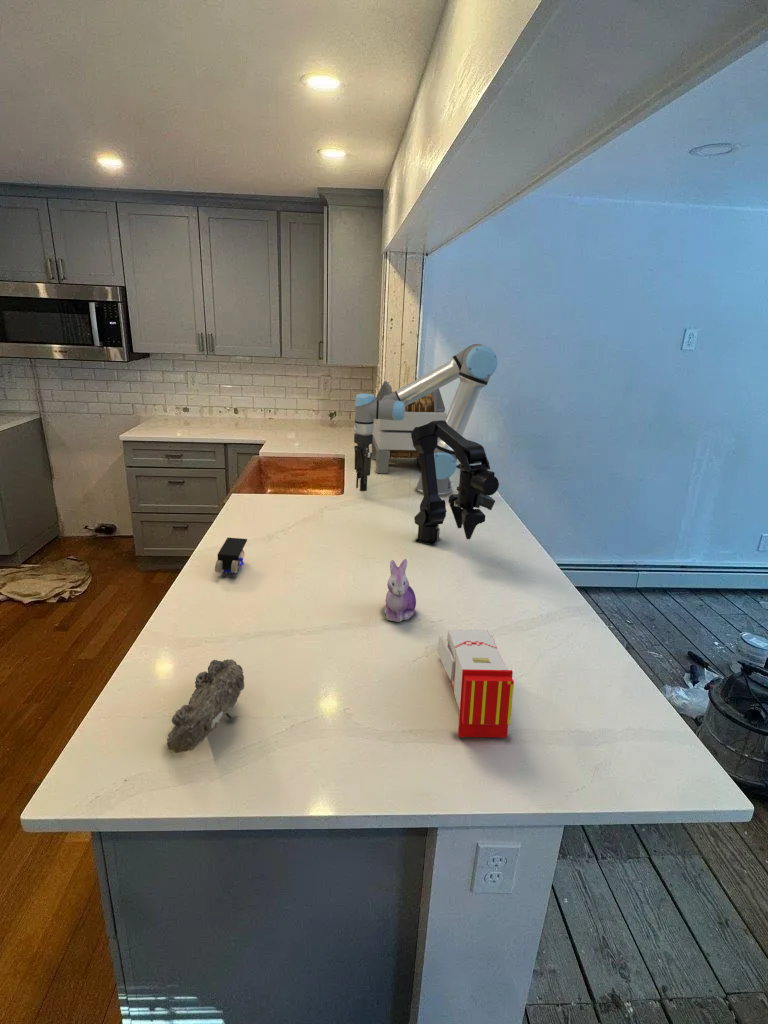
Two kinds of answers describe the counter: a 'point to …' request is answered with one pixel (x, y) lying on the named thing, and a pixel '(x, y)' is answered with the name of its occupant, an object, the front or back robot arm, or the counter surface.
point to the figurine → (399, 594)
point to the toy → (478, 682)
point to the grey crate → (403, 428)
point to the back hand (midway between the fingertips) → (361, 489)
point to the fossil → (206, 705)
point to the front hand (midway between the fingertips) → (463, 533)
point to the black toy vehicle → (230, 556)
